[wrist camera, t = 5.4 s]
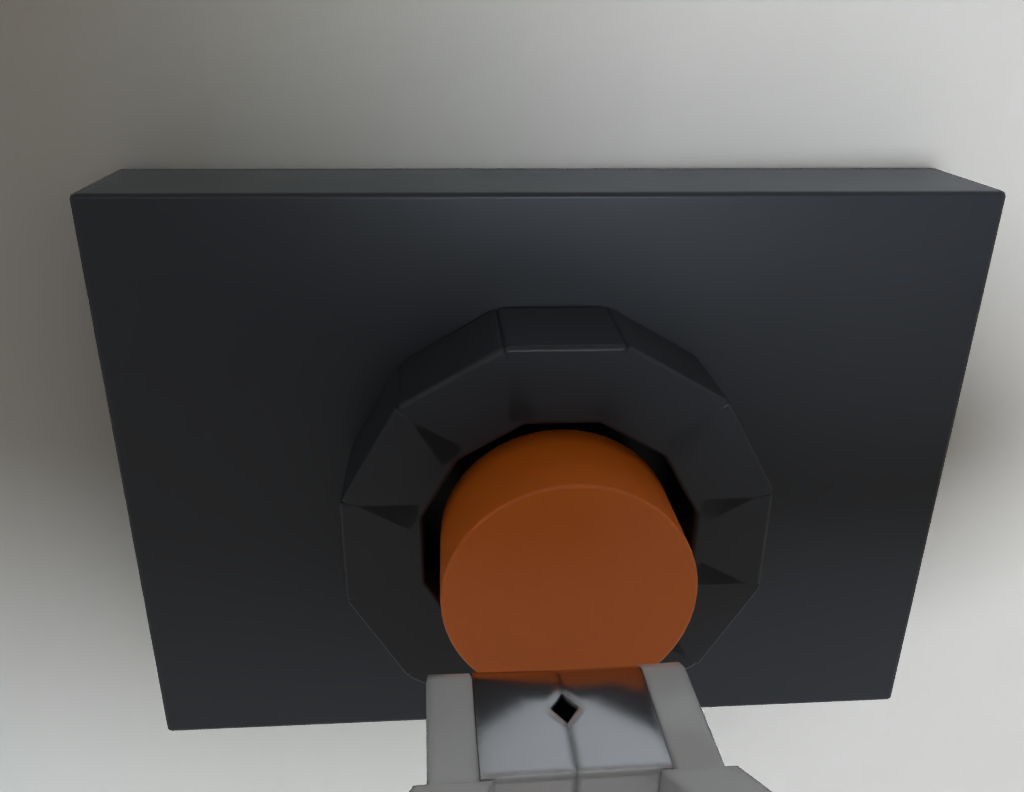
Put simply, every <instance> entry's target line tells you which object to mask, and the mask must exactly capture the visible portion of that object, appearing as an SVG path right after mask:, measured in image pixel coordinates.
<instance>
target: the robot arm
mask: <svg viewBox="0 0 1024 792" xmlns="http://www.w3.org/2000/svg"><path fill="white" fill-rule="evenodd" d="M426 728H427V785H417V786H413V787H412V789H411V790H410V791H409V792H771V791H770V790H769V789H767V788H766V787H765V786H764V785H762V784H761V783H760V782H758V781H757V780H756V779H754V778H753V777H752V776H750V775H749V774H748V773H746V772H745V771H744V770H742V769H741V768H740V767H738V766H724V763H723V761H722V758H721V756H720V753H719V751H718V748H717V746H716V743H715V741H714V738H713V736H712V734H711V731H710V729H709V726H708V724H707V721H706V719H705V716H704V714H703V711H702V709H701V706H700V704H699V701H698V699H697V696H696V694H695V692H694V689H693V687H692V684H691V682H690V679H689V677H688V674H687V672H686V669H685V667H684V666H683V665H682V664H681V663H679V662H669V663H655V664H641V665H637V666H622V667H605V668H588V669H570V670H549V671H512V672H475V673H472V676H471V675H470V674H469V673H466V674H432V675H428V677H427V682H426Z"/></svg>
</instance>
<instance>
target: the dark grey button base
mask: <svg viewBox="0 0 1024 792" xmlns="http://www.w3.org/2000/svg"><path fill="white" fill-rule="evenodd" d="M1004 201H1005V193H1004V192H1003V191H1001V190H998V189H995V188H992V187H989V186H986V185H983V184H980V183H977V182H974V181H971V180H968V179H965V178H962V177H959V176H955V175H952V174H949V173H946V172H943V171H940V170H937V169H121V170H118V171H116V172H114V173H112V174H110V175H108V176H107V177H105V178H103V179H101V180H99V181H97V182H95V183H93V184H91V185H89V186H87V187H85V188H83V189H81V190H79V191H77V192H75V193H73V194H71V196H70V203H71V208H72V214H73V219H74V224H75V230H76V235H77V241H78V246H79V251H80V257H81V262H82V268H83V273H84V278H85V284H86V289H87V295H88V300H89V305H90V311H91V316H92V321H93V327H94V332H95V338H96V343H97V348H98V354H99V359H100V365H101V370H102V375H103V381H104V386H105V392H106V397H107V402H108V408H109V413H110V418H111V424H112V429H113V435H114V440H115V445H116V451H117V456H118V462H119V467H120V472H121V478H122V483H123V488H124V494H125V499H126V505H127V510H128V515H129V521H130V526H131V532H132V537H133V542H134V548H135V553H136V559H137V564H138V569H139V575H140V580H141V585H142V591H143V596H144V602H145V607H146V612H147V618H148V623H149V629H150V634H151V639H152V645H153V650H154V656H155V661H156V666H157V672H158V677H159V682H160V688H161V693H162V699H163V704H164V709H165V715H166V720H167V726H168V729H169V730H171V731H174V730H197V729H220V728H242V727H265V726H288V725H310V724H333V723H356V722H378V721H401V720H424V719H426V682H427V677H428V675H432V674H466V673H469V674H470V675H471V676H472V673H475V672H476V671H475V670H473V669H472V668H471V667H470V666H469V665H468V664H467V663H466V662H465V661H464V659H463V658H462V657H461V656H460V655H459V654H458V652H457V651H456V649H455V647H454V646H453V644H452V643H451V641H450V639H449V637H448V634H447V632H446V630H445V627H444V623H443V619H442V615H441V606H440V532H441V521H442V516H443V511H444V508H445V506H446V503H447V500H448V498H449V496H450V494H451V492H452V490H453V488H454V486H455V485H456V483H457V482H458V481H459V479H460V478H461V477H462V475H463V474H464V473H465V472H466V471H467V470H468V469H469V468H470V467H471V466H472V464H473V463H475V462H476V461H477V460H478V459H480V458H481V457H482V456H483V455H484V454H486V453H487V452H489V451H490V450H492V449H494V448H495V447H497V446H498V445H500V444H502V443H505V442H507V441H509V440H511V439H513V438H516V437H519V436H522V435H525V434H529V433H533V432H538V431H543V430H555V429H569V430H580V431H586V432H591V433H595V434H598V435H602V436H605V437H608V438H610V439H612V440H614V441H617V442H619V443H621V444H622V445H624V446H626V447H627V448H629V449H631V450H632V451H633V452H635V453H636V454H637V455H638V456H639V457H641V458H642V459H643V460H644V461H645V462H646V463H647V464H648V466H649V467H650V468H651V469H652V470H653V472H654V473H655V475H656V476H657V478H658V479H659V481H660V483H661V485H662V487H663V489H664V491H665V493H666V496H667V498H668V500H669V502H670V504H671V506H672V509H673V511H674V513H675V515H676V517H677V520H678V522H679V524H680V526H681V528H682V530H683V533H684V535H685V537H686V539H687V541H688V543H689V546H690V548H691V550H692V553H693V556H694V559H695V563H696V568H697V576H698V588H697V597H696V602H695V608H694V611H693V613H692V616H691V619H690V622H689V624H688V626H687V628H686V630H685V632H684V634H683V635H682V637H681V638H680V640H679V641H678V643H677V644H676V645H675V647H674V648H673V649H672V650H671V651H670V652H669V654H668V655H667V656H666V657H665V658H664V659H663V660H662V661H660V662H659V663H669V662H679V663H681V664H682V665H683V666H684V667H685V669H686V672H687V674H688V677H689V679H690V682H691V684H692V687H693V689H694V692H695V694H696V696H697V699H698V701H699V704H700V706H701V707H718V706H741V705H764V704H786V703H809V702H832V701H854V700H877V699H888V698H890V697H891V692H892V688H893V684H894V679H895V675H896V671H897V666H898V662H899V658H900V653H901V649H902V645H903V640H904V636H905V631H906V627H907V623H908V618H909V614H910V610H911V605H912V601H913V597H914V592H915V588H916V584H917V579H918V575H919V571H920V566H921V562H922V557H923V553H924V549H925V544H926V540H927V536H928V531H929V527H930V523H931V518H932V514H933V510H934V505H935V501H936V497H937V492H938V488H939V483H940V479H941V475H942V470H943V466H944V462H945V457H946V453H947V449H948V444H949V440H950V436H951V431H952V427H953V423H954V418H955V414H956V409H957V405H958V401H959V396H960V392H961V388H962V383H963V379H964V375H965V370H966V366H967V362H968V357H969V353H970V349H971V344H972V340H973V335H974V331H975V327H976V322H977V318H978V314H979V309H980V305H981V301H982V296H983V292H984V288H985V283H986V279H987V275H988V270H989V266H990V261H991V257H992V253H993V248H994V244H995V240H996V235H997V231H998V227H999V222H1000V218H1001V214H1002V209H1003V205H1004Z"/></svg>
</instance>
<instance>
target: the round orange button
mask: <svg viewBox="0 0 1024 792" xmlns="http://www.w3.org/2000/svg"><path fill="white" fill-rule="evenodd" d="M697 588H698V576H697V568H696V563H695V559H694V556H693V553H692V550H691V548H690V546H689V543H688V541H687V539H686V537H685V535H684V533H683V530H682V528H681V526H680V524H679V522H678V520H677V517H676V515H675V513H674V511H673V509H672V506H671V504H670V502H669V500H668V498H667V496H666V493H665V491H664V489H663V487H662V485H661V483H660V481H659V479H658V478H657V476H656V475H655V473H654V472H653V470H652V469H651V468H650V467H649V466H648V464H647V463H646V462H645V461H644V460H643V459H642V458H641V457H639V456H638V455H637V454H636V453H635V452H633V451H632V450H631V449H629V448H627V447H626V446H624V445H622V444H621V443H619V442H617V441H614V440H612V439H610V438H608V437H605V436H602V435H598V434H595V433H591V432H586V431H580V430H569V429H555V430H543V431H538V432H533V433H529V434H525V435H522V436H519V437H516V438H513V439H511V440H509V441H507V442H505V443H502V444H500V445H498V446H497V447H495V448H494V449H492V450H490V451H489V452H487V453H486V454H484V455H483V456H482V457H481V458H480V459H478V460H477V461H476V462H475V463H473V464H472V466H471V467H470V468H469V469H468V470H467V471H466V472H465V473H464V474H463V475H462V477H461V478H460V479H459V481H458V482H457V483H456V485H455V486H454V488H453V490H452V492H451V494H450V496H449V498H448V500H447V503H446V506H445V508H444V511H443V516H442V521H441V532H440V606H441V615H442V619H443V623H444V627H445V630H446V632H447V634H448V637H449V639H450V641H451V643H452V644H453V646H454V647H455V649H456V651H457V652H458V654H459V655H460V656H461V657H462V658H463V659H464V661H465V662H466V663H467V664H468V665H469V666H470V667H471V668H472V669H473V670H475V671H476V672H512V671H549V670H570V669H588V668H605V667H622V666H637V665H641V664H655V663H659V662H660V661H662V660H663V659H664V658H665V657H666V656H667V655H668V654H669V652H670V651H671V650H672V649H673V648H674V647H675V645H676V644H677V643H678V641H679V640H680V638H681V637H682V635H683V634H684V632H685V630H686V628H687V626H688V624H689V622H690V619H691V616H692V613H693V611H694V608H695V602H696V597H697Z"/></svg>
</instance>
